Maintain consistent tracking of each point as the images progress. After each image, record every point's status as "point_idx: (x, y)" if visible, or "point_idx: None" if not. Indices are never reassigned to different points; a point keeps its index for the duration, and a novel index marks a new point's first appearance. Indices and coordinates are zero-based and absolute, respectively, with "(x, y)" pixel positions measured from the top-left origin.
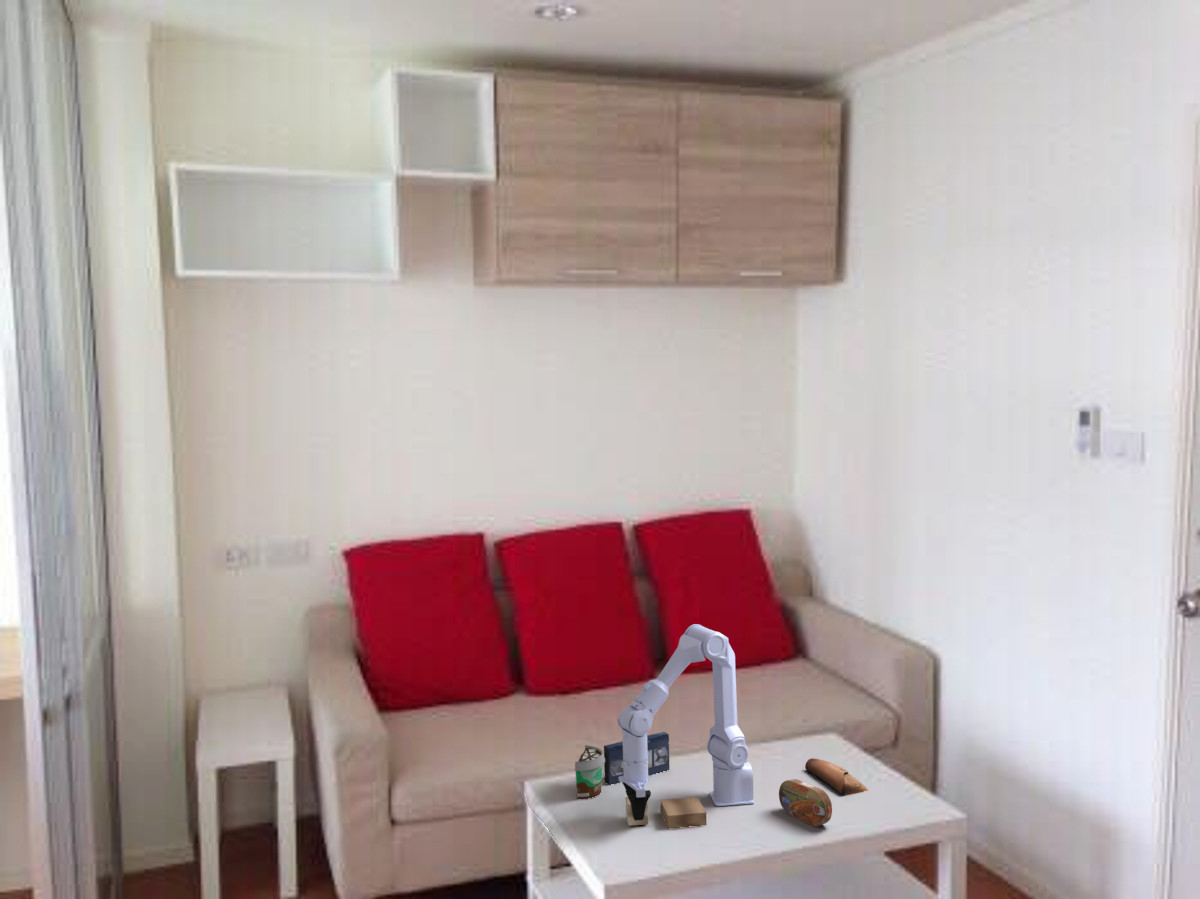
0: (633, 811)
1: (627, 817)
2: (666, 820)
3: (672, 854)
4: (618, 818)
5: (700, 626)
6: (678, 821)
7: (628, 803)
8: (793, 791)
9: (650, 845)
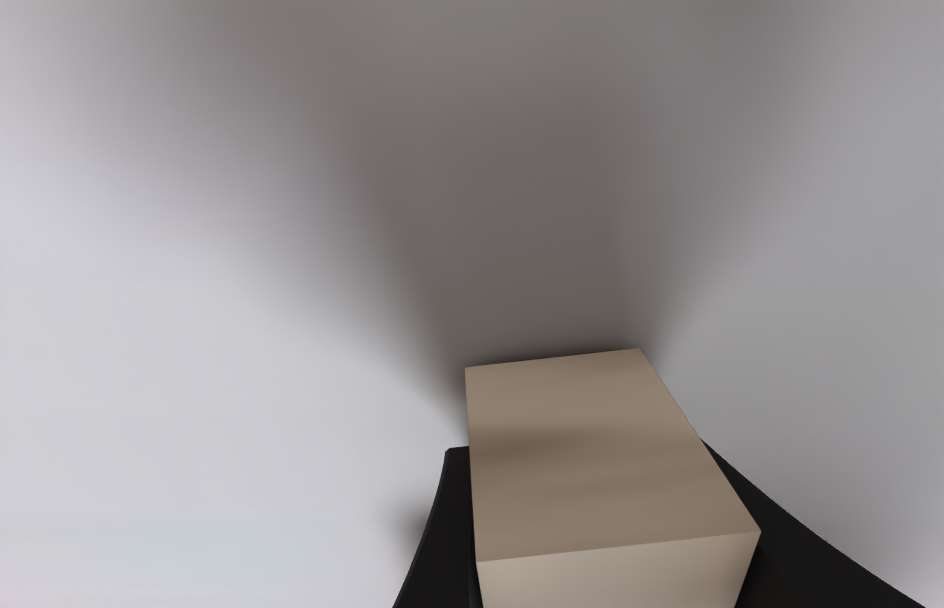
0: (425, 535)
1: (555, 385)
2: None
3: (58, 576)
4: (672, 276)
5: None
6: None
7: (523, 562)
8: None
9: (152, 483)
